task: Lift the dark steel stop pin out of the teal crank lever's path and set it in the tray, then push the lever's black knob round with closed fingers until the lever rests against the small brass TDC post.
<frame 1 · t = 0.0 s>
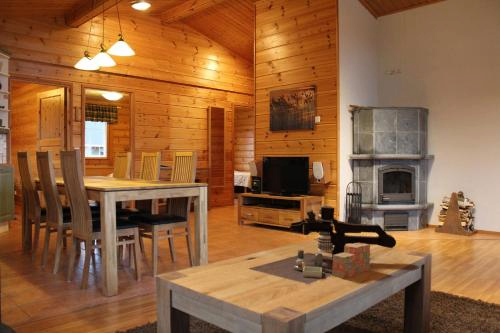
hand: (290, 225, 226), 17 cm above the table, tool horizontal, fingers open, 9 cm apart
tray: (312, 274, 193), on the table
crank base: (299, 269, 202), on the table
stack of blocks: (351, 273, 197), on the table
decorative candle: (325, 250, 244), on the table
stop pin: (318, 269, 203), on the table
crank: (300, 258, 205), point 4 cm above the table, hinge at 90.0°
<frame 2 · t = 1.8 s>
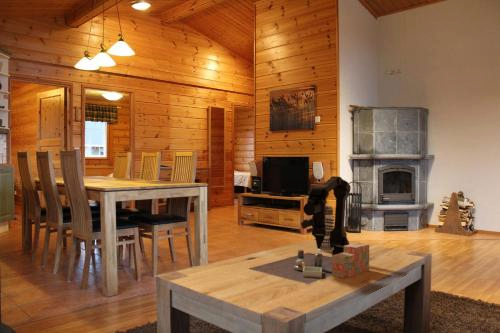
hand: (318, 246, 202), 10 cm above the table, tool pointing down, fingers open, 9 cm apart
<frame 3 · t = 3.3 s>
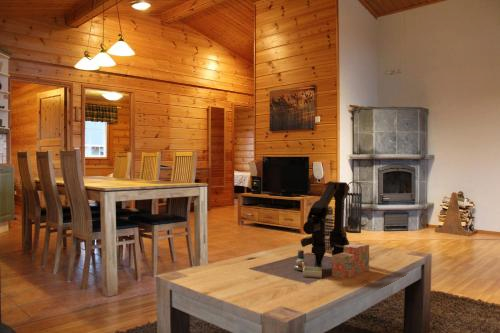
hand: (318, 264, 203), 2 cm above the table, tool pointing down, fingers closed on stop pin, 4 cm apart
stop pin: (318, 269, 203), on the table, touching gripper
everything else where it was.
when the fingers open (3 cm above the table, at t = 6.7 s): stop pin stays where it is, resting on tray.
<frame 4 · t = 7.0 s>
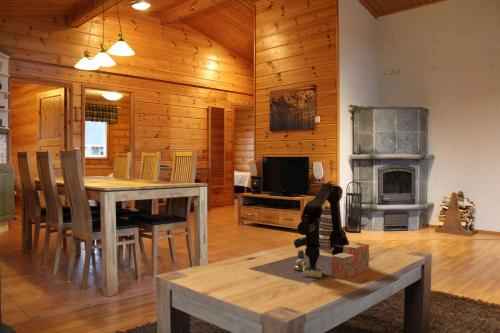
hand: (312, 266, 193), 3 cm above the table, tool pointing down, fingers open, 7 cm apart
stop pin: (312, 273, 193), point 1 cm above the table, touching tray
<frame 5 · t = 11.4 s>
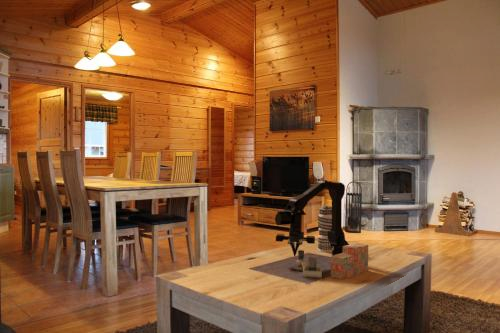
hand: (294, 256, 210), 4 cm above the table, tool pointing down, fingers closed
crank: (300, 258, 205), point 4 cm above the table, hinge at 88.8°, touching gripper
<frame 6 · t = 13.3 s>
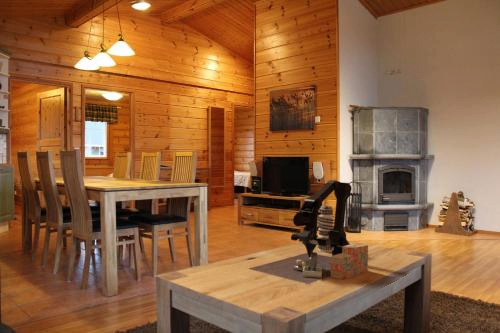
hand: (309, 257, 207), 4 cm above the table, tool pointing down, fingers closed
crank: (306, 259, 203), point 4 cm above the table, hinge at 36.0°, touching gripper
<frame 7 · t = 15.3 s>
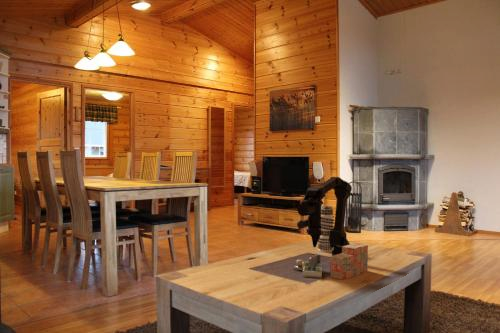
hand: (314, 247, 205), 10 cm above the table, tool pointing down, fingers closed
crank: (308, 260, 201), point 4 cm above the table, hinge at 0.9°
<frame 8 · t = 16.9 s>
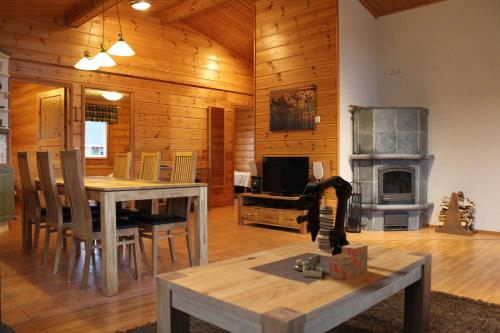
hand: (313, 241, 206), 12 cm above the table, tool pointing down, fingers closed
at the end: stop pin inside the target area on the tray (0.1 cm from its centre), point 0.6 cm above the tray's base; crank at +1° (first picture: +90°) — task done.
